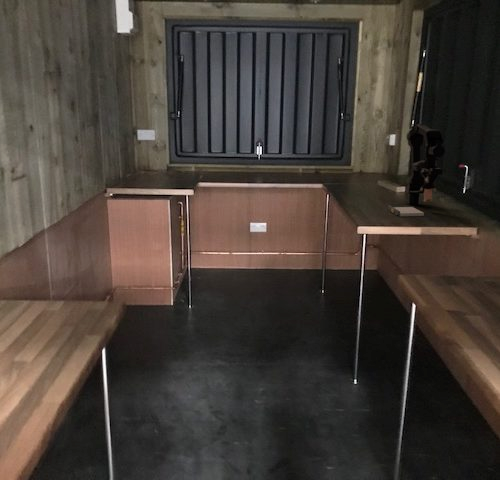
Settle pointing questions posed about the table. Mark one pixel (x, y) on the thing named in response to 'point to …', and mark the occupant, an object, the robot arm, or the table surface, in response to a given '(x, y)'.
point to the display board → (405, 211)
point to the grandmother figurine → (427, 191)
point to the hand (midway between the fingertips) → (428, 186)
